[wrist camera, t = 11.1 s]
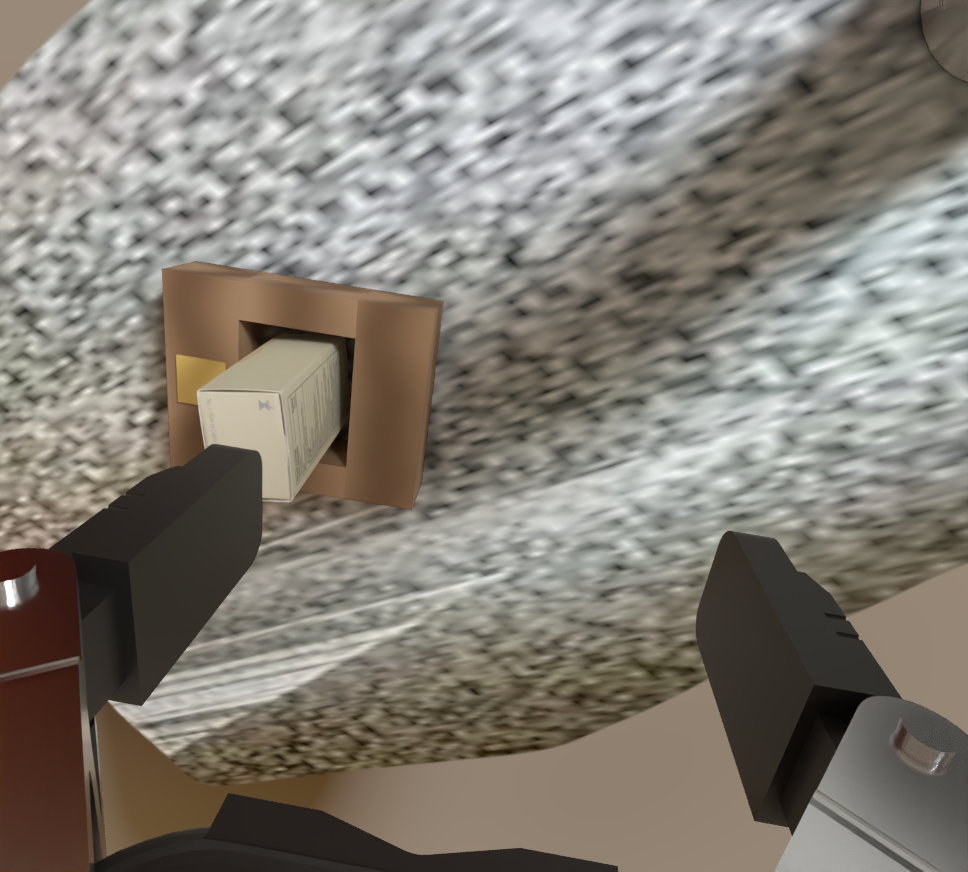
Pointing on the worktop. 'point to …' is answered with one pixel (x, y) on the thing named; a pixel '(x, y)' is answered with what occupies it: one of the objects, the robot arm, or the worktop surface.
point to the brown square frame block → (324, 309)
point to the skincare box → (281, 406)
